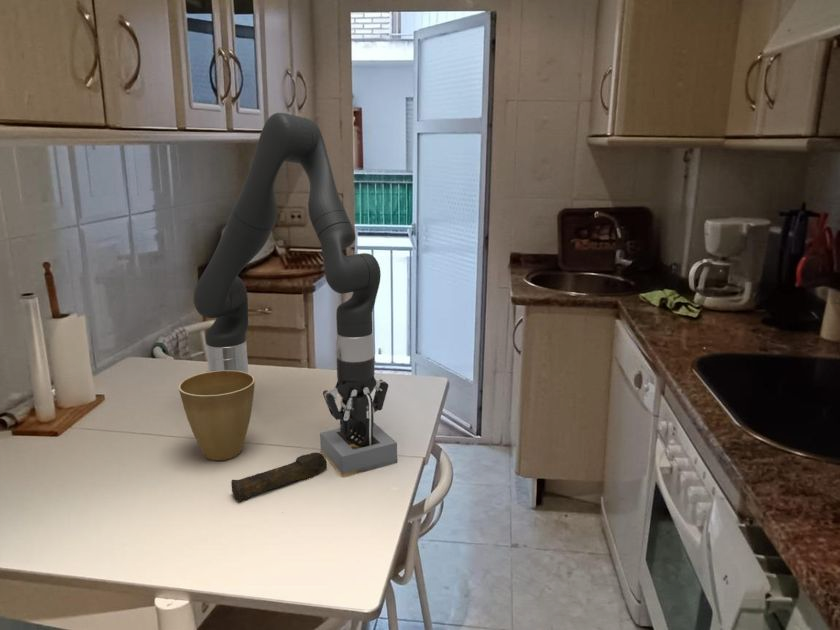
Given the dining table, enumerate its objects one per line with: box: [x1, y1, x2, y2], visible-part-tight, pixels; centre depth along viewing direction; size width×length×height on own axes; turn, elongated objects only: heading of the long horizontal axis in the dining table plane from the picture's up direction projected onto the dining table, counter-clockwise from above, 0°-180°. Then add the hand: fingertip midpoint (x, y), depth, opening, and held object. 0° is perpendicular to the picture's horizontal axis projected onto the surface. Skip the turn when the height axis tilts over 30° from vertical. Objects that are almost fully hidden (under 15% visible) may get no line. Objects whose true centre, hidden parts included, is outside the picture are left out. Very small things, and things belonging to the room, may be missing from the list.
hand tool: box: [230, 451, 328, 503], centre depth 121 cm, size 19×4×5 cm, turn 123°
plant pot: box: [178, 370, 256, 461], centre depth 132 cm, size 15×15×16 cm
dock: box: [319, 422, 398, 478], centre depth 131 cm, size 12×12×4 cm
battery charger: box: [344, 393, 374, 448], centre depth 129 cm, size 7×4×11 cm, turn 40°
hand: (357, 432), depth 130 cm, fingers closed on battery charger, 4 cm apart
